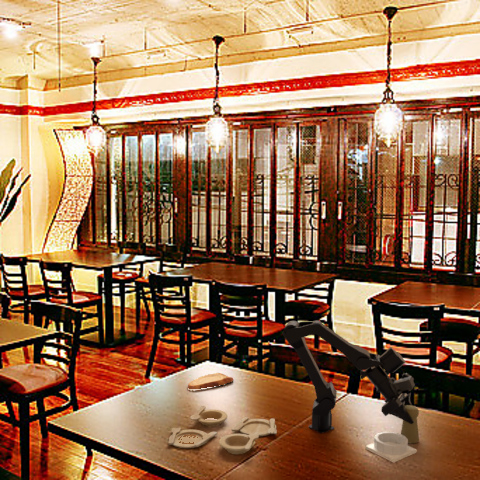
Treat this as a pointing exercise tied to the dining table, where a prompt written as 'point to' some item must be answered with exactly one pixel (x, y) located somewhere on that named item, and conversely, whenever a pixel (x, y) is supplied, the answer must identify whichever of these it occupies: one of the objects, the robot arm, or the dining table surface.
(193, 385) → the bread slice
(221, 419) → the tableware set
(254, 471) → the dining table surface
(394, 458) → the guard dock
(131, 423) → the dining table surface
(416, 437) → the cork
